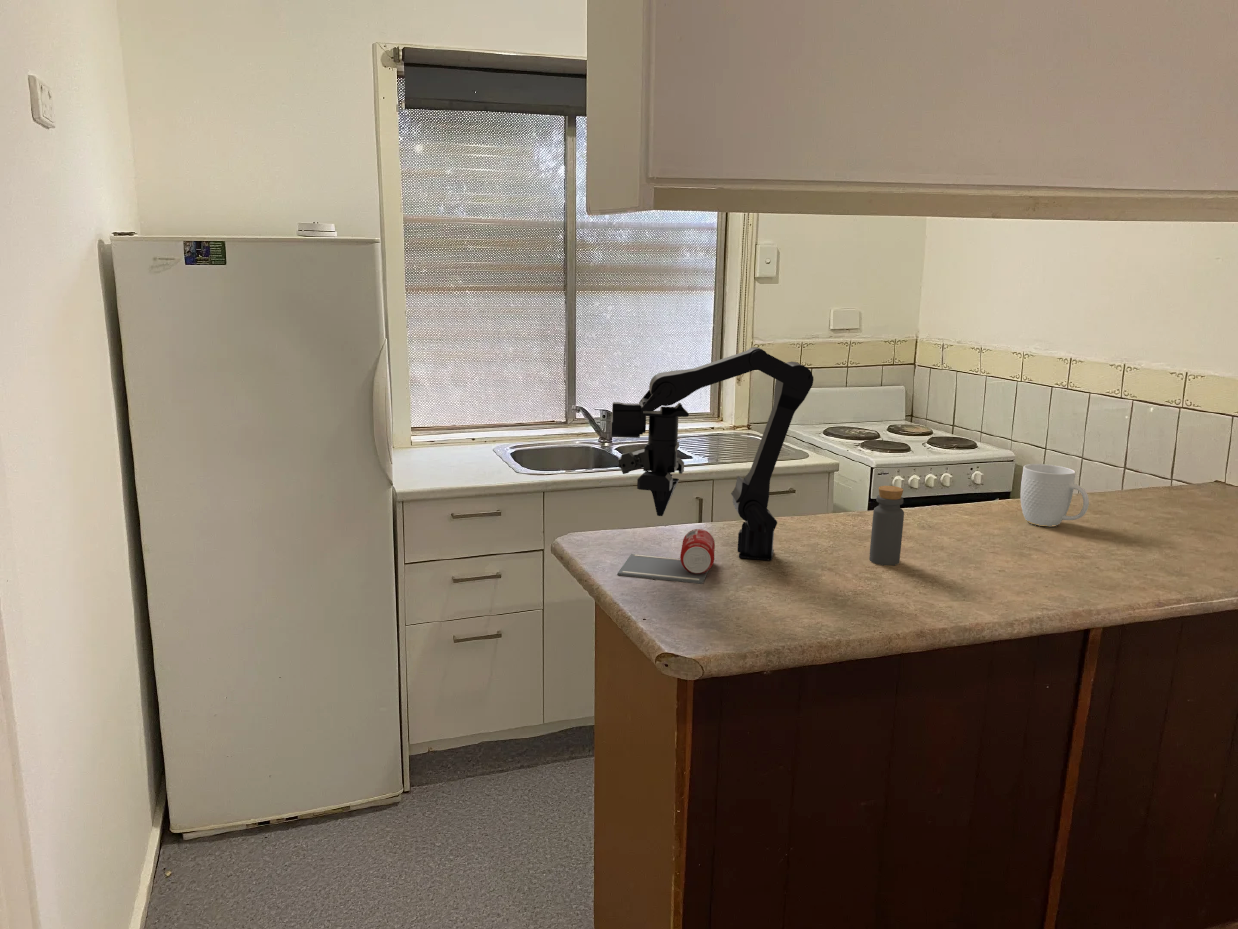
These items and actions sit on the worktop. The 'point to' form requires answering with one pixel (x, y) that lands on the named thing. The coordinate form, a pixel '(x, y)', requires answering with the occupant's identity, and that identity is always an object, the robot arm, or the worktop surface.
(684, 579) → the mat
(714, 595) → the worktop surface
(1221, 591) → the worktop surface
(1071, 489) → the mug
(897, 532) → the bottle
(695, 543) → the beverage can
